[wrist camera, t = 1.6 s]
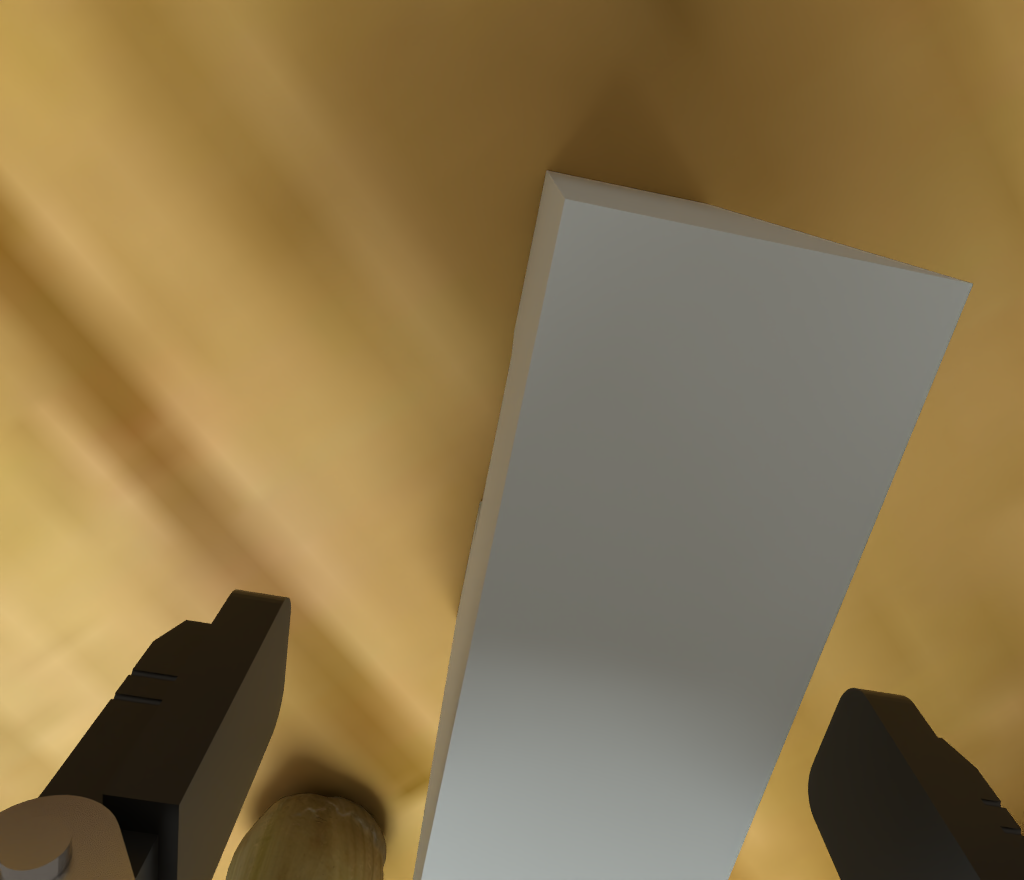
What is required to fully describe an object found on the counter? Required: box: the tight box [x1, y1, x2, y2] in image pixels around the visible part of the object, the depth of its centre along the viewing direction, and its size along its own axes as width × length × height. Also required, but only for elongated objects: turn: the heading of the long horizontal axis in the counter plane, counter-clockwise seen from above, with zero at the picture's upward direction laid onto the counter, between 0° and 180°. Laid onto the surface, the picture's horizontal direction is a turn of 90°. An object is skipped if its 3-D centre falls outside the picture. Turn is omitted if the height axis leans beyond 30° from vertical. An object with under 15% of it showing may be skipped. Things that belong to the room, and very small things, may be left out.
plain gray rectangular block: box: [413, 170, 973, 880], centre depth 15 cm, size 4×13×12 cm, turn 169°
